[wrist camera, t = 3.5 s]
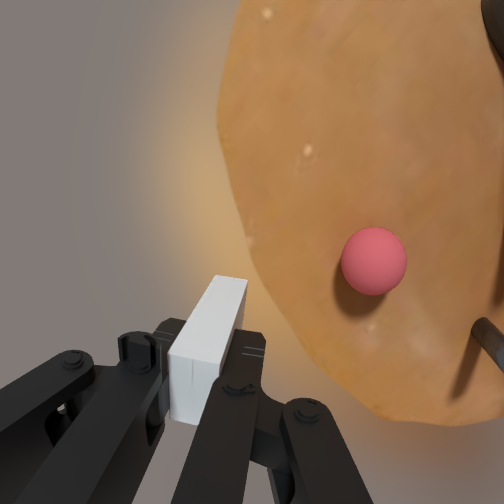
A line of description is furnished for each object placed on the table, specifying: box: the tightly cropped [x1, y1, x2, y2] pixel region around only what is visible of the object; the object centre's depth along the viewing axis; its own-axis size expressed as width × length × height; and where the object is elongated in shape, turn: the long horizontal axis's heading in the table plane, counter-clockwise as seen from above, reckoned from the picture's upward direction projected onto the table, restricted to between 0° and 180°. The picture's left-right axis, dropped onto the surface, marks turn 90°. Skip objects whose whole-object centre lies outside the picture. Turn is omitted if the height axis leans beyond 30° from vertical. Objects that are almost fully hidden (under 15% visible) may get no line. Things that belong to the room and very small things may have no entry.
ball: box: [341, 227, 407, 295], centre depth 25 cm, size 6×6×6 cm
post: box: [471, 317, 504, 373], centre depth 24 cm, size 3×3×9 cm
